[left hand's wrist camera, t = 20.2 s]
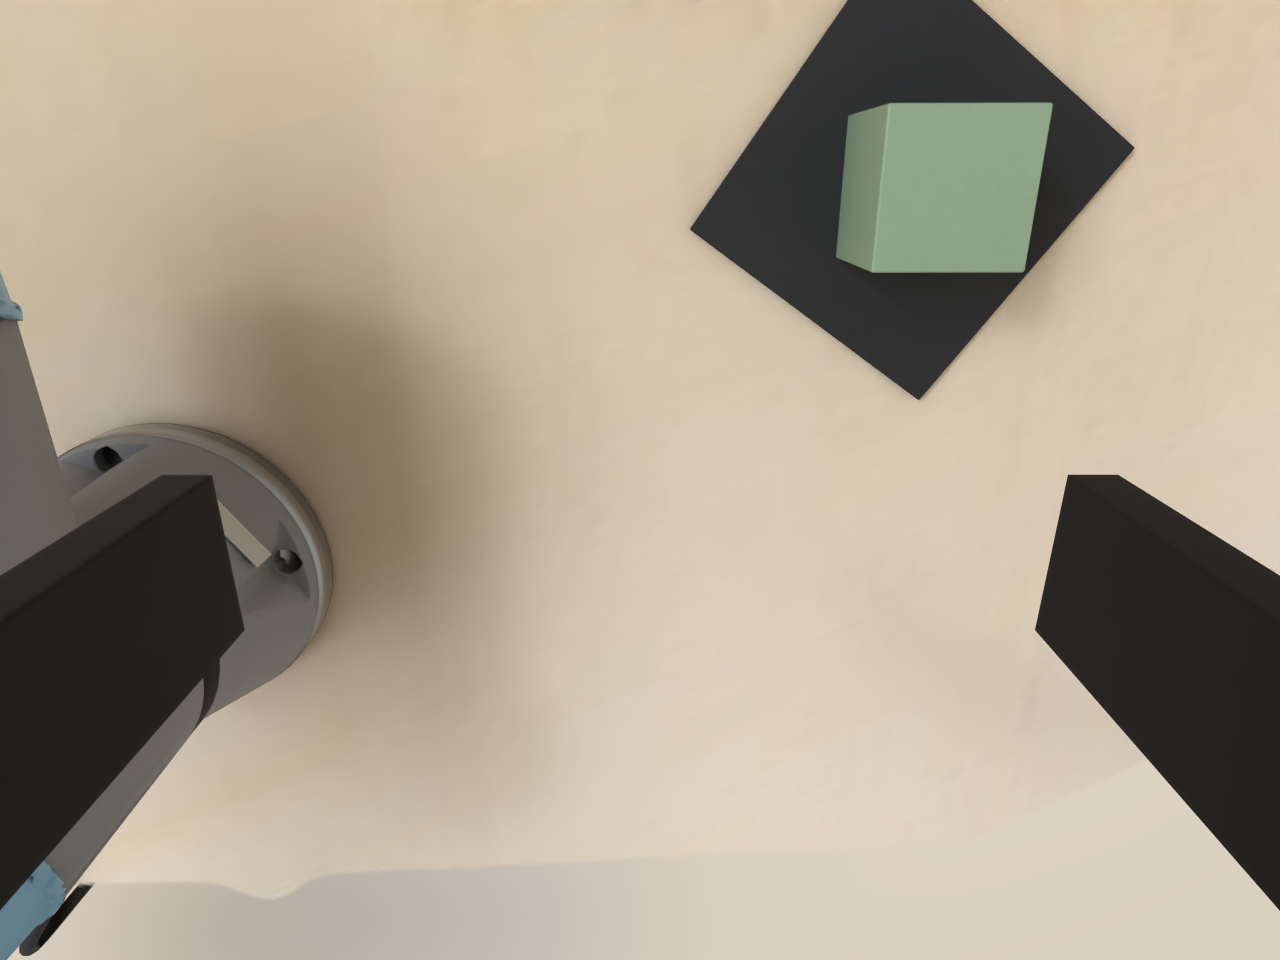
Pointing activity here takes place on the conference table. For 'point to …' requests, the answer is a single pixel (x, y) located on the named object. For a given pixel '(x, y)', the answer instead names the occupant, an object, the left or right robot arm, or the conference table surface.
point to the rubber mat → (814, 162)
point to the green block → (941, 186)
